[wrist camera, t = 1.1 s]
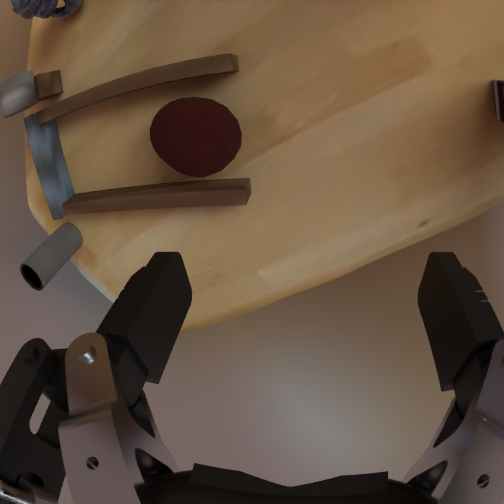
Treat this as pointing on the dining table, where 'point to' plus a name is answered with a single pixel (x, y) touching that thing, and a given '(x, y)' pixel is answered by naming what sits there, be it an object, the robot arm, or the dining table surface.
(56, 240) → the grey tube
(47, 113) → the bay
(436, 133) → the dining table surface
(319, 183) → the dining table surface
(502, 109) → the supplement box
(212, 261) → the dining table surface
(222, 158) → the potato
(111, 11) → the dining table surface
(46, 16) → the grey lumpy rock
